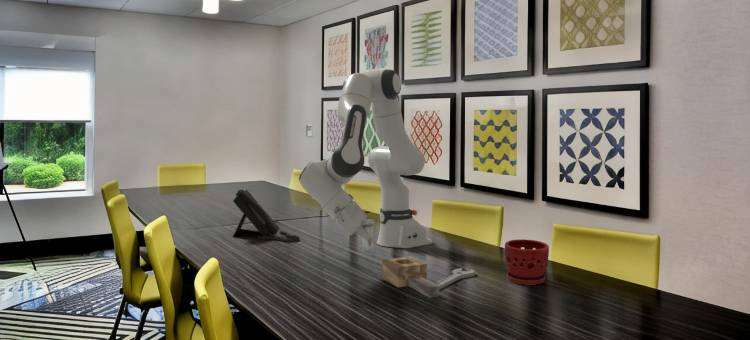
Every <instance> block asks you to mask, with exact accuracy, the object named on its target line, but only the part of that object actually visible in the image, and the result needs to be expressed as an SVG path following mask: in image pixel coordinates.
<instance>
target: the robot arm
mask: <svg viewBox="0 0 750 340" xmlns="http://www.w3.org/2000/svg"><path fill="white" fill-rule="evenodd" d="M401 90H402V80H401V77H400V74H399V73H398V72H397V71H396V70H393V69H380V70H369V71H365V72H354V73H352V74H349V76H347V77H346V78H345V79H344V81H343V83H342V89H341V93H340V96H339V100H338V105H337V117H338V119H339V121H340V122H341V123H343V124H344V129H343V134H342V139H341V142H339V144H338V145H337V147H336V148H335V149H334V151H333V153H332V154H331V156H330V157H329V158H327V159H323V160H318V161H309V162H308V163H307V164H306V166H305V167H304V168H303V170H302V171H301V173H300V175H299V177H298V183H299V184H300V185H301V187H302V188H303V189H304V190H305V192H306V193H308V195H309V196H310V197H311V198H312V199H314V201H317V202H318V203H319V205H320V207H321V209H323V210H324V211H325V213H326V214H328V215H329V217H331V219H335V221H336V222H337V224H338V225H339V226H340V227H341V228H342V229H343V230H344V232H346V233H347V234H348V235H349V236H353V234H355V233H356V234H357V235H360V237H361V238H362V237H363V238H364V239H365V240H368V239H369V238H370V234H369V233H368V232H366V231H365V230H364V229H363V228H362V220H364V219H367V218H368V216H367V214H366V212H365V211H364V210H363V208H362V207H361V206H360V205H359V203H357V202H356V201H355V200H354V196H353V195H352V194H350V193H348V192H347V191H346V190H344V189H343V186H344V185H347V184H348V183H350V181H351V180H353V178H354V177H355V176H356V175H357V174H358V173H359V172H361V171H362V169H363V168H364V165H365V155H364V149H363V140H364V133H365V128H366V122H367V120H368V117H369V114H370V110H371V113H372V119H373V123H374V128H375V134H376V136H377V137H378V138H379V139H380V140H382V142H383V143H384V144H385V145H381V146H377V147H374V148H372V149H371V150H370V152H369V153H368V158H367V162H368V165H369V167H370V169H371V170H372V171H373V172H374V173H375V175H376V177H377V180H378V182H379V186H380V195H381V196H380V197H381V198H380V199H381V200H380V201H381V204H380V205H381V207H380V208H379V209H380V210H379V222H380V223H379V224H380V225H379V227H380V228H379V232H378V237H377V241H376V244H377V245H379V246H382V247H388V248H399V249H410V248H417V247H422V246H427V245H432V244H433V240H432V239H430V238H428V236H427V231H426V230H427V229H426V228H425V226H424V225H423V224H421V223H419V222H418V220H416V219H415V218H414V217H413V216H417V215H418V211H417V210H415V209H412V210H411V209H410V191H409V188H408V186H407V185H406V184H405V183H404V181H402V177H401V176H413V175H418V174H420V173H421V172H422V171H423V169H424V168H425V164H426V160H425V155H424V153H423V152H422V151H421V150H420V149H418V147H417V146H416V145H414V143H413V141H412V140H411V139H410V137H409V135H408V133H407V131H406V128H405V124H404V119H403V114H402V109H401V104H400V100H399V98H398V96H399V95H400V92H401Z"/></svg>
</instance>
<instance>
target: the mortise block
mask: <svg viewBox="0 0 750 340" xmlns="http://www.w3.org/2000/svg"><path fill="white" fill-rule="evenodd" d="M381 264H382V266H381V267H382V268H381V270H382V271H381V272H382V273H381V279H382V280H384V281H386V282H387V283H389V284H391V285H392V286H394V287H396V288H403V287H409V288H411V289H412V290H415V291H416V292H418V293H420V294H422V295H424V296H425V297H428V298H430V299H431V298H438V297H440V289H439V286H438V285H436V284H434V283H435V282H434V283H433V282H432V281H430V280H429V279H428V263H426V262H423V261H421V260H419V259H417V258H415V257H413V256H403V257H395V258H394V257H393V258H385V259H382V262H381Z"/></svg>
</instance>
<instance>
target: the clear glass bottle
mask: <svg viewBox="0 0 750 340" xmlns="http://www.w3.org/2000/svg"><path fill="white" fill-rule="evenodd" d="M375 224H376V221H375V219H373V218H372V219H369V218H368V219H367V218H366V219H364V220H362V228H363V229H364V230H365V231H366V232H368V233H369V234H370V238H369V239H368V240H365V239H364V238H363V237H362V236H361V238H362V239H361V241H362V242H361V245H362V247H361V249H362V253H364V254H373V253H374V249H375V247H374V243H375V242H374V241H375V240H374V237H375V236H374V234H375V233H374V232H375V230H374V229H375Z"/></svg>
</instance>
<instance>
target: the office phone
mask: <svg viewBox="0 0 750 340" xmlns="http://www.w3.org/2000/svg"><path fill="white" fill-rule="evenodd" d="M233 203H234V204H235V206H237V208H238V209H239V210H240V211H241V213H242V214H243V215H242V216H241V219H240V221H239V223H238V225H237V227H236V229H235V232H234V233H233V236H232V237H234V236H236V234H237V233H238V232H239V231H240V230H241V229H242V227H243V225H244V223H245V221H246V219H248V221H249V222H250V223H251V224H252V225H253V227H254V228H255V229H256V230H257V231H258V233H257V234H258V236H257V237H258V238H260V239H262V240H263V241H278V242H279V241H280V242H284V243H288V242H289V243H293V242H295V243H296V242H299V241H300V236H298V235H293V234H289V233H288V232H286V231H285V232H284V231H283V230H282V231H281V230H280V232H279V231H278V230H279V229H280V227H279V226H278V225H277V223H276V222H275V221H274V219H272V217H271V216H270V215H269V213H268V212H266V210H265V209H264V208H263V207H262V205H261V204H260V203H259V202H258V201H257V200H256V198H254V196H253V195H252V194H251V193H250V191H249V190H248V189H246V190H244V189H237V192H236V193H235V197H234V199H233ZM277 232H279V233H277ZM260 235H262V236H260ZM275 235H276V236H275ZM277 235H281V236H285V237H281V236H277Z"/></svg>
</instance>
